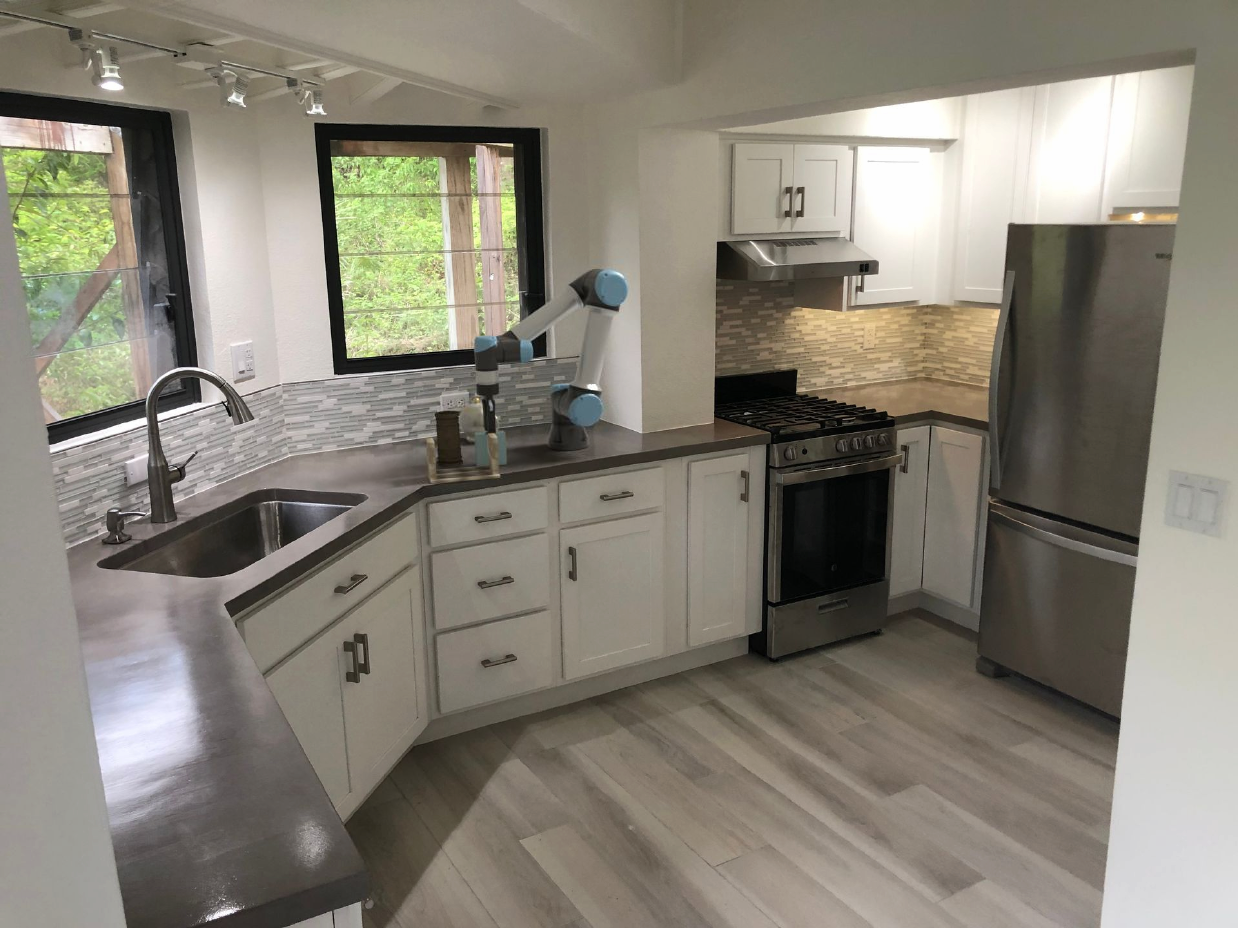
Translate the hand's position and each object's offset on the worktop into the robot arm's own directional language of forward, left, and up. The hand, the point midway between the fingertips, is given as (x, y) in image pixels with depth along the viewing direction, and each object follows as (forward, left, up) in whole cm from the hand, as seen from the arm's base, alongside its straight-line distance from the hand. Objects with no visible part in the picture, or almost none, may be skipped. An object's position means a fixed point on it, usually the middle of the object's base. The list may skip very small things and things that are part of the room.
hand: (490, 451), depth 328 cm
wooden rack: (+11, +13, -5) cm, 18 cm away
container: (+13, -5, -5) cm, 15 cm away
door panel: (0, 0, -5) cm, 5 cm away
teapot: (-2, -37, -5) cm, 37 cm away
